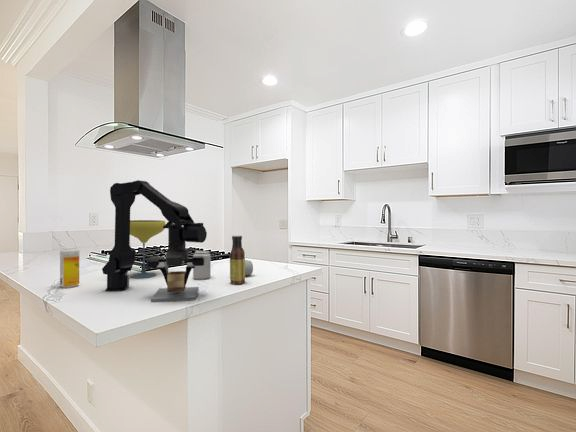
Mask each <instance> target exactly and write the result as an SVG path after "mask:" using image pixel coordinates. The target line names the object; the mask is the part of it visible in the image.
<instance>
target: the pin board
mask: <svg viewBox="0 0 576 432" xmlns="http://www.w3.org/2000/svg"><path fill="white" fill-rule="evenodd" d="M199 288H200V287H199V286H192V287H191V286H189V287H186V288H185V290H184V291H182V292H167V287H164V288H163V287H161V288H160V287H159V289H157V291H156V292H155V293H154V295H153V296H152V297H151V299H150V303H160V302H161V303H162V302H163V303H164V302H184V301H185V302H186V301H196V300H197V296H198V293H199Z"/></svg>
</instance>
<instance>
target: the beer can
mask: <svg viewBox="0 0 576 432" xmlns="http://www.w3.org/2000/svg"><path fill="white" fill-rule="evenodd" d="M79 284H80V249H79V247H78V246H67V247H61V249H60V250H59V286H60V287H61V288H62V289H71V288H75V287H78V285H79Z"/></svg>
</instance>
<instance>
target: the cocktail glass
mask: <svg viewBox="0 0 576 432" xmlns="http://www.w3.org/2000/svg"><path fill="white" fill-rule="evenodd" d="M164 225H166V220H153V219H151V220H150V219H149V220H148V219H147V220H146V219H145V220H144V219H143V220H142V219H141V220H140V219H139V220H132V219H130V236H132V237H134V238H135V239H138V240H139V241H140V243H142V246H143V247H142V269H141V270H142V271H141V272H139V273H135V274H132V275H129V278H132V279H148V278H149V279H150V278H153V277H157V275H158V274H157V273H154V272H147V271H146V262H145V258H146V257H145V255H146V254H145V253H146V252H145V249H146V247H145V246H146V245H145V244H146V243H148V241H149V240H150V239H151V238H152V237H154V236H156V235H159V234H160V233H162V232H164V231H165V229H166V228H163V226H164Z"/></svg>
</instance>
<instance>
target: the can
mask: <svg viewBox="0 0 576 432" xmlns="http://www.w3.org/2000/svg"><path fill="white" fill-rule="evenodd" d="M193 256H204V257H205V263H204V265H203V266H195V268H192V278H194V280H198V281H199V280H208V279H209V278H210V277H211V257H212V255H211V254H210V251H209V250H197V251H194V254H193V255H192V257H193Z"/></svg>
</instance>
